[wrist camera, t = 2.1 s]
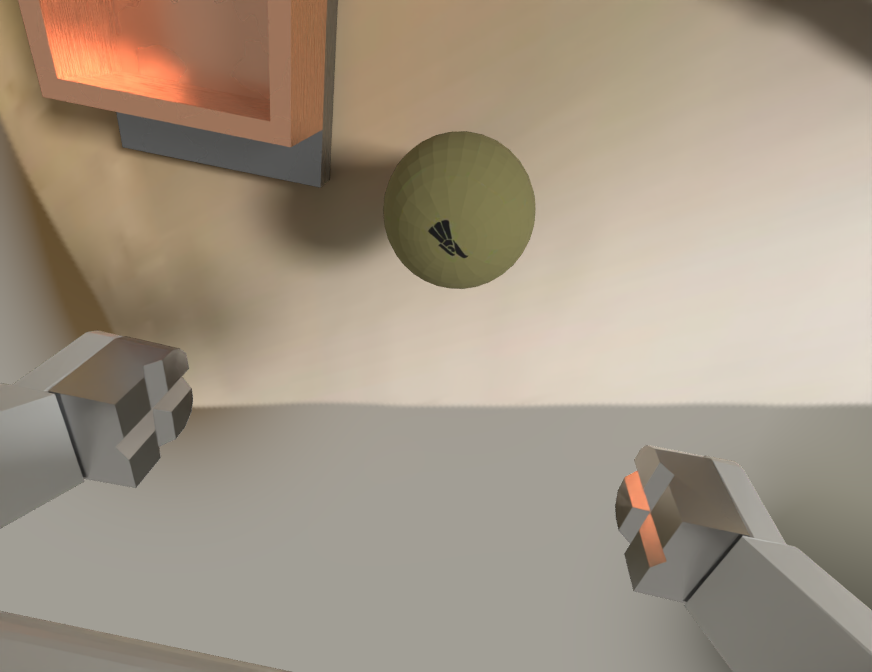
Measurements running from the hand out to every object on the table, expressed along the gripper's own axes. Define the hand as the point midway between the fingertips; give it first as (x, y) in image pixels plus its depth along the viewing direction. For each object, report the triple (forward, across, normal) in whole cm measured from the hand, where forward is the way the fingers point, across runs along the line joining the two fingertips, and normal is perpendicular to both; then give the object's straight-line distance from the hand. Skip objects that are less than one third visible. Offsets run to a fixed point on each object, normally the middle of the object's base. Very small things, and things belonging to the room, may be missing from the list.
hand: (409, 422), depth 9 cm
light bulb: (+18, 0, 0) cm, 19 cm away
